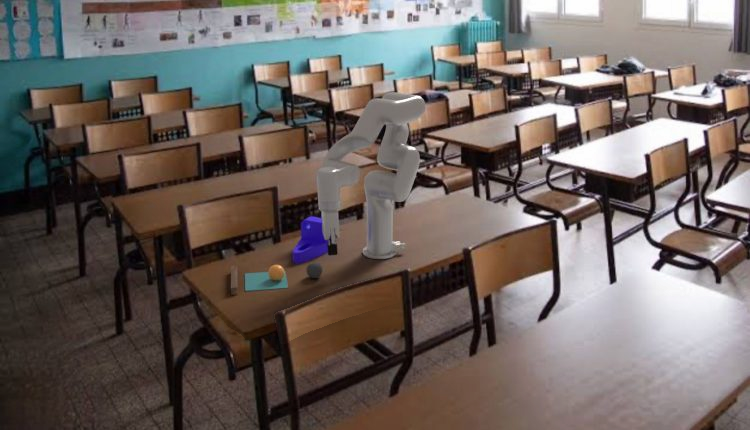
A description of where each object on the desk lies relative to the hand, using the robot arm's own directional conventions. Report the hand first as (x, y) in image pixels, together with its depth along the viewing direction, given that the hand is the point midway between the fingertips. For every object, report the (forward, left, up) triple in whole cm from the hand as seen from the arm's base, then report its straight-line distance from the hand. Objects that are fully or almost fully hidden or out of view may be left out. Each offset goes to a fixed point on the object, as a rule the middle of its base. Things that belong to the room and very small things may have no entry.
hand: (332, 254), depth 247 cm
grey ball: (+6, +1, -5) cm, 8 cm away
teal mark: (+23, +1, -8) cm, 24 cm away
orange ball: (+19, +1, -5) cm, 20 cm away
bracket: (+7, -20, -8) cm, 23 cm away
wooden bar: (+34, +1, -8) cm, 34 cm away
